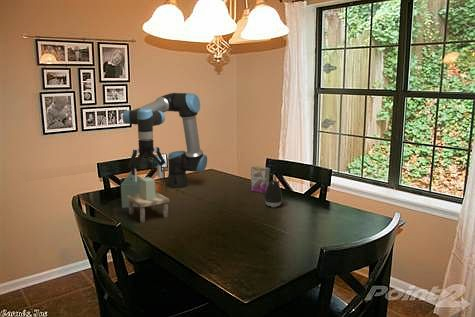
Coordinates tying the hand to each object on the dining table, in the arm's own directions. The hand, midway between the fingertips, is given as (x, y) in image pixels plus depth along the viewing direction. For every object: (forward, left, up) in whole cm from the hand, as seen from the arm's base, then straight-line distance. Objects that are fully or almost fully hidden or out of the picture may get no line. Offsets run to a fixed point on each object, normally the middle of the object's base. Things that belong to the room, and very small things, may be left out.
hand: (147, 179), depth 213 cm
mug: (-3, -33, -20) cm, 39 cm away
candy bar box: (-78, -1, -20) cm, 80 cm away
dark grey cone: (-66, +26, -20) cm, 74 cm away
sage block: (0, 0, -10) cm, 10 cm away
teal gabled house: (-2, -20, -20) cm, 28 cm away
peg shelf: (0, 0, -20) cm, 20 cm away
